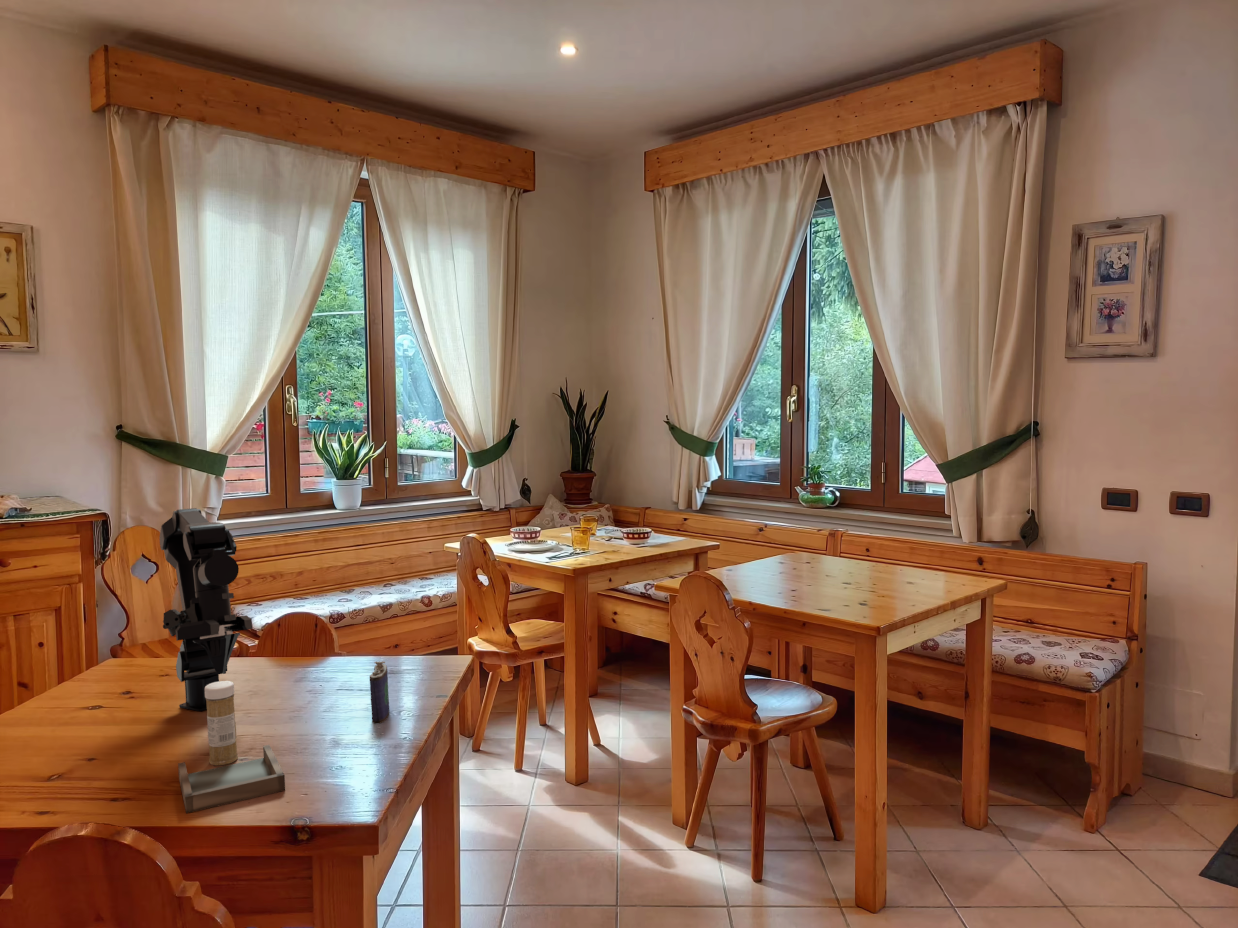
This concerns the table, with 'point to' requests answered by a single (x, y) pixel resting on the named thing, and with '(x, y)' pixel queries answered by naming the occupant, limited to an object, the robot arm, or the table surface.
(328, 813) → the table surface
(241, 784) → the tray
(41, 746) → the table surface
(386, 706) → the flask
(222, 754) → the sprinkles bottle
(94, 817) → the table surface
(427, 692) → the table surface
